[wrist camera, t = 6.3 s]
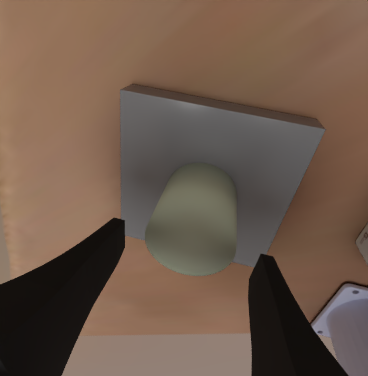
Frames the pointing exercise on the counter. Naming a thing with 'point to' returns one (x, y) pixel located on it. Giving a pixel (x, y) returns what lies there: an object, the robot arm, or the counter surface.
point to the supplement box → (363, 243)
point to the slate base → (213, 158)
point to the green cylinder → (195, 221)
